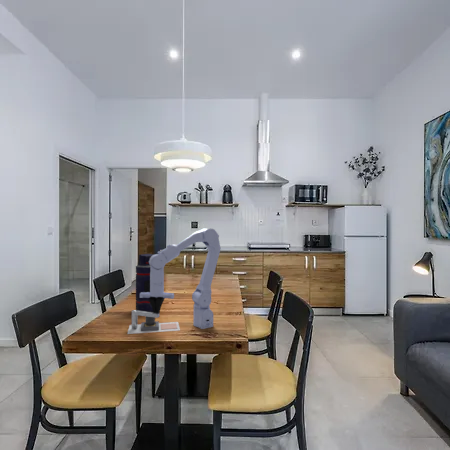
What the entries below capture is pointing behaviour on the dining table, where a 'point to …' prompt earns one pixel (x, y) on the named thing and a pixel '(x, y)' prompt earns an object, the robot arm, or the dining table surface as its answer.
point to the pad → (169, 326)
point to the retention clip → (141, 313)
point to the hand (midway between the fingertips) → (156, 314)
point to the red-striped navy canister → (143, 282)
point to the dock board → (150, 328)
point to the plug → (150, 321)
